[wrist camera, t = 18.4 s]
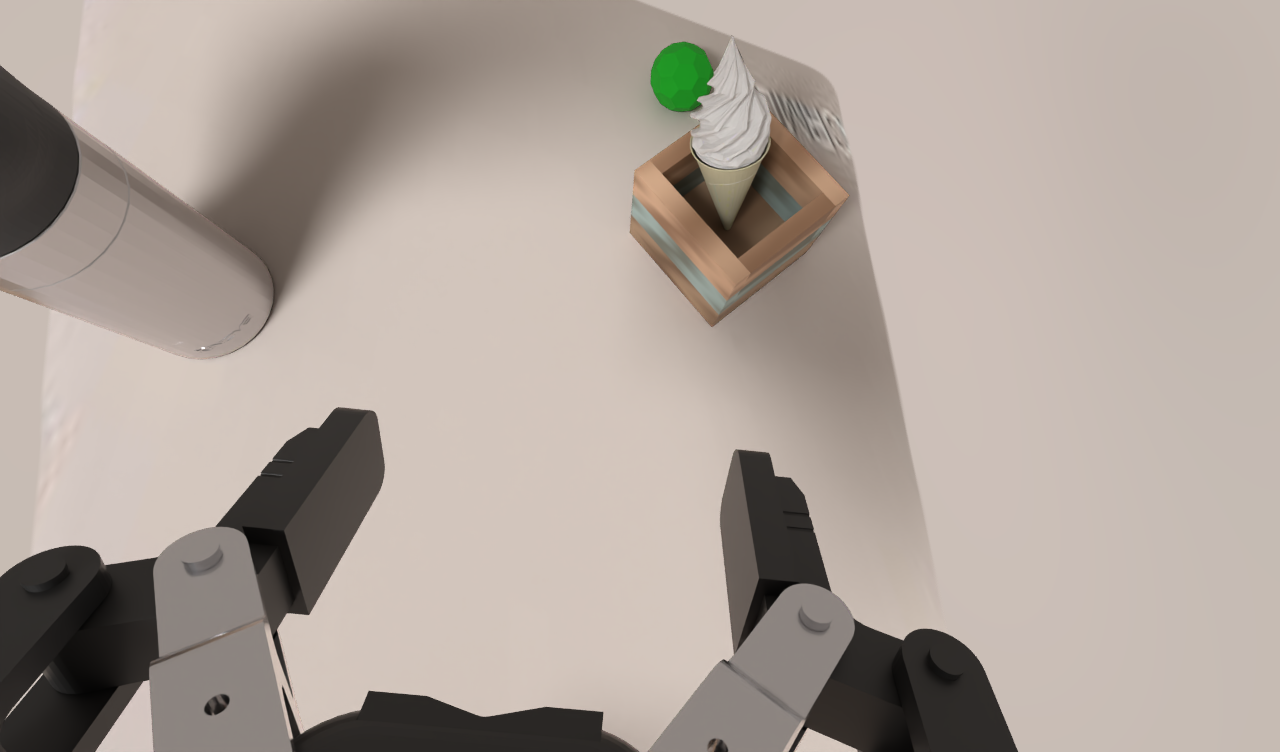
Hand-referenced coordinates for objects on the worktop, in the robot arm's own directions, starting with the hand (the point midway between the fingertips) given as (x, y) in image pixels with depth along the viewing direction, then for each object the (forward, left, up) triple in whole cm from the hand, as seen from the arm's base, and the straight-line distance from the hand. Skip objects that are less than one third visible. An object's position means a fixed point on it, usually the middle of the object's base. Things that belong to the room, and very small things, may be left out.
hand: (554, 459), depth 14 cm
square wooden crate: (-9, +20, -31) cm, 38 cm away
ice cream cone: (-9, +20, -28) cm, 35 cm away
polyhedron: (-21, +26, -31) cm, 46 cm away
